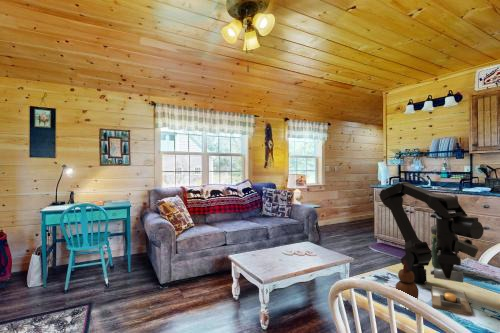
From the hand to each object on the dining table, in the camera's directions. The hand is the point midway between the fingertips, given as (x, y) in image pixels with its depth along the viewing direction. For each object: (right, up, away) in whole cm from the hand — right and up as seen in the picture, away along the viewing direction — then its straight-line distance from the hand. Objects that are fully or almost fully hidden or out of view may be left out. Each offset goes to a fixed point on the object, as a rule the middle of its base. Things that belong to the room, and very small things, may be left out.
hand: (447, 276), depth 95 cm
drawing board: (-2, -7, -4) cm, 8 cm away
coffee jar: (+17, -7, +26) cm, 32 cm away
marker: (0, -1, 0) cm, 1 cm away
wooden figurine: (-17, -8, -5) cm, 19 cm away
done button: (-5, -4, -7) cm, 10 cm away
